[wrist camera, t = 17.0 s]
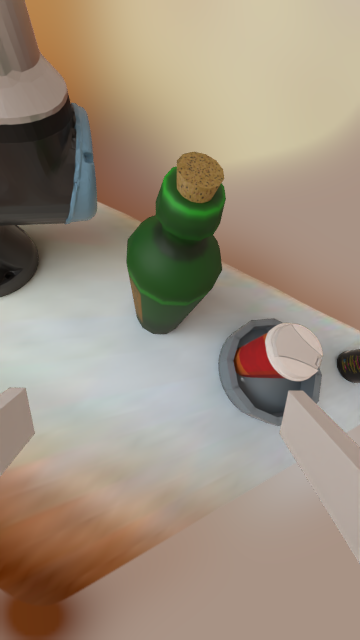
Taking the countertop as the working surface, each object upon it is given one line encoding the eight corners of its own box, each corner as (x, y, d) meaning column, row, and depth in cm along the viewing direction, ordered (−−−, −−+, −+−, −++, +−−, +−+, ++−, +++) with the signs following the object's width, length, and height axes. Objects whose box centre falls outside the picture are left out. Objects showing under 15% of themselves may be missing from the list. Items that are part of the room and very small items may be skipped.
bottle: (158, 279, 42) (194, 99, 16) (196, 315, 41) (299, 187, 15) (118, 312, 38) (77, 147, 12) (159, 352, 37) (210, 269, 11)
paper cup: (268, 356, 40) (332, 341, 27) (254, 391, 37) (317, 393, 24) (235, 334, 40) (283, 308, 27) (218, 367, 37) (262, 357, 24)
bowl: (210, 329, 40) (219, 322, 36) (287, 322, 45) (302, 316, 40) (229, 428, 35) (241, 433, 31) (313, 410, 39) (334, 413, 35)
